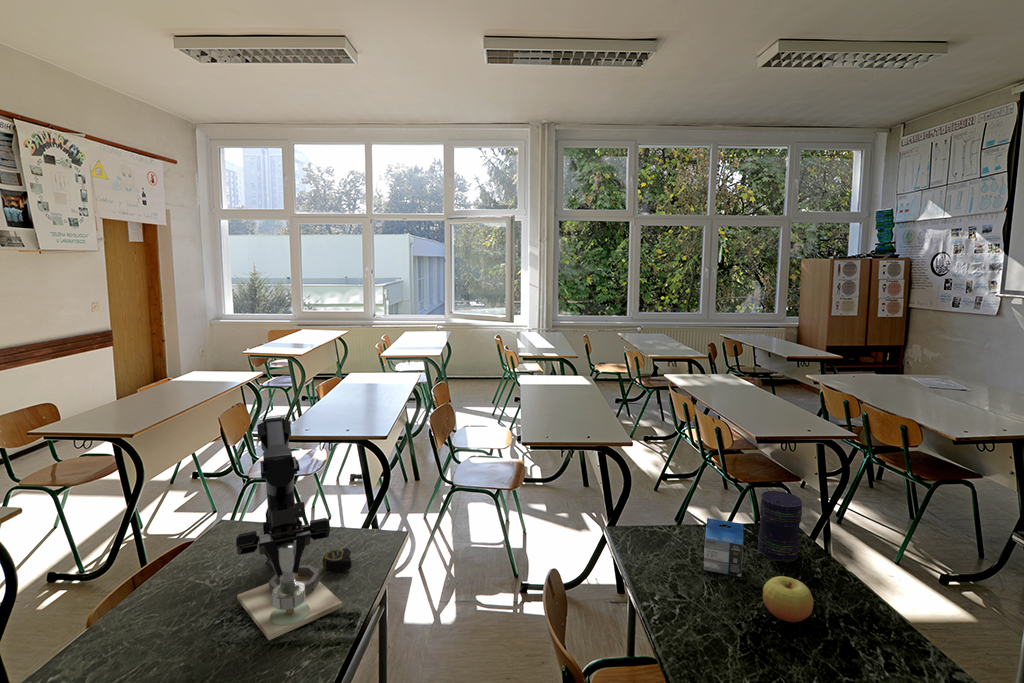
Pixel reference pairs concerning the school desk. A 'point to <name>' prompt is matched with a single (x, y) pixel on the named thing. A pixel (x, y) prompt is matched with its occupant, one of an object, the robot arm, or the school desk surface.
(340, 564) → the tape measure
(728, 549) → the label tape box
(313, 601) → the gear board
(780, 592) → the apple
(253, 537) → the robot arm
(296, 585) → the gear
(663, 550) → the school desk surface
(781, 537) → the storage jar
